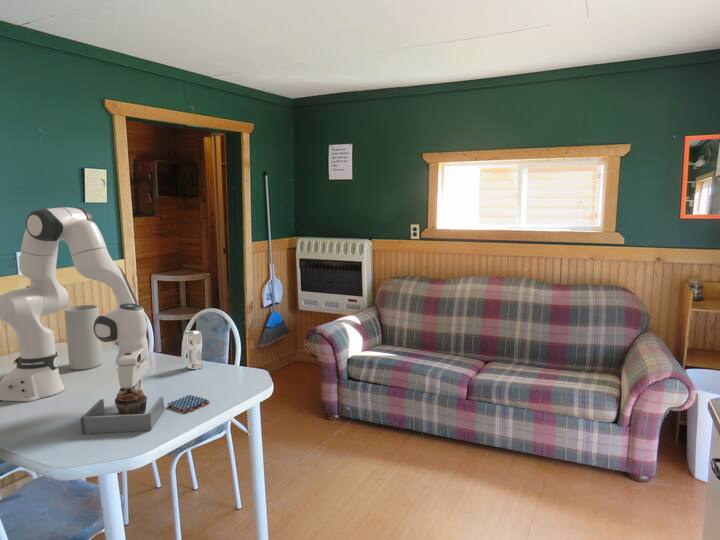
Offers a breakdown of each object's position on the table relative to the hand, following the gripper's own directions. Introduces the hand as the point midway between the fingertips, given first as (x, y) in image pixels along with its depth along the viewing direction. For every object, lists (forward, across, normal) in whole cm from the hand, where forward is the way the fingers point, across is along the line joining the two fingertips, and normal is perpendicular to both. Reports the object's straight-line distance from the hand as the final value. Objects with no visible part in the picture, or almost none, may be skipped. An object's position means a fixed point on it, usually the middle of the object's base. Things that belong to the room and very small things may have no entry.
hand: (137, 392), depth 179 cm
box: (+5, +12, 0) cm, 13 cm away
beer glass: (+5, -41, +10) cm, 43 cm away
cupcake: (+5, +6, 0) cm, 8 cm away
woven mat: (+6, +1, +17) cm, 18 cm away
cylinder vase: (+5, -50, -37) cm, 63 cm away
